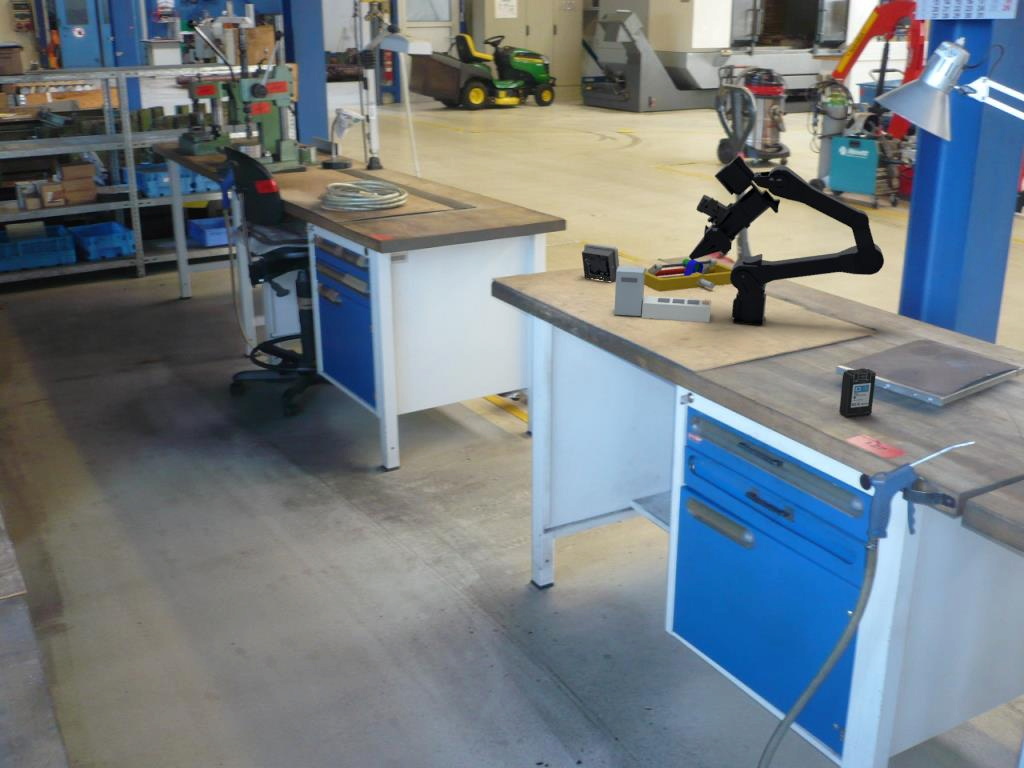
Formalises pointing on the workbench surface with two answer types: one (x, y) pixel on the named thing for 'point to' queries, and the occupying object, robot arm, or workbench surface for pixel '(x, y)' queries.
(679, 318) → the power strip
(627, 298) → the charger
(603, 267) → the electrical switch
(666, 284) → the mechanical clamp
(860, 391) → the ink cartridge
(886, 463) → the workbench surface
